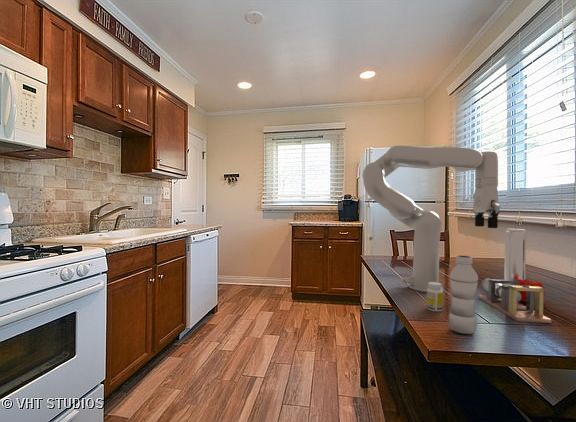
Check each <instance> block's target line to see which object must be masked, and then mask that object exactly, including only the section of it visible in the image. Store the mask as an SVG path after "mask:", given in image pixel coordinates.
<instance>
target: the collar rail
mask: <svg viewBox="0 0 576 422" xmlns="http://www.w3.org/2000/svg"><path fill="white" fill-rule="evenodd" d="M495 283H501V284H503V285H502V298H500V297H498V296H496V295H495ZM504 284H511V285H504ZM517 291H526V302H525V305H524V304H522V303H520V302H518V303H517ZM534 291H535V303H534ZM544 291H545V288H541V287H539V286H525V285H523V286H518V281H516V280H504V279H495V278H494V279H493V278H492V279H491V278H489V289H488V291H487V292H488V293H486V294H485V295H484V294H482V295H481V294H478V299H479V300H482V301H483V302H485V303H486V304H488V305H490V306H492V307H493V308H494V309H497V310H498V311H500V312H501V313H503V314H505V315H507V316H508V317H510V318H511V319H513V320H514V321H517V322H527V323H528V322H529V323H542V324H543V323H546V324H552V319H551V318H549V317H548V316H545V315H544V299H543V294H544Z"/></svg>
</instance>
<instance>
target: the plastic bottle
mask: <svg viewBox="0 0 576 422" xmlns="http://www.w3.org/2000/svg"><path fill="white" fill-rule="evenodd" d="M472 265H473V257H472V256H470V255H462V254H461V255H456V256H455V266H454V267H453V268H452V269H451V271H450V274H449V280H450V289H451V292H450V293H451V301H450V303H451V304H450V308H449V310H450V311H449V315H448V326H449V328H450V329H451V330H452V331H453V332H455V333H458V334H464V335H472V334H474V333H475V332H476V331H477V328H478V321H477V320H478V319H477V316H476V314H477V313H476V294H477V293H476V292H477V288H478V282H479V276H478V274H477V272H476V271H475V269H474V268H473V266H472Z"/></svg>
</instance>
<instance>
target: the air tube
mask: <svg viewBox="0 0 576 422" xmlns="http://www.w3.org/2000/svg"><path fill="white" fill-rule="evenodd" d="M489 279H490V278H489V277H488V278H484V279H483V280H482V281H481V287H482V289H483V290H485V291H487V292H488V289H489ZM502 285H504V284H502V283H495V295H496V296H498V297H500V298H502ZM520 300H521V294H520V293H519V292H518V291H517V303H520V302H521V301H520Z"/></svg>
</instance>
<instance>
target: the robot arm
mask: <svg viewBox="0 0 576 422" xmlns="http://www.w3.org/2000/svg"><path fill="white" fill-rule="evenodd" d="M448 167H449V168H453V169H454V170H455V171H457V172H469V171H474V174H475V175H474V194H473V207H472V210H473V212H474V226H475V227H485V216H484V215H485V213H487V215H488V217H487V228H488V229H497V228H498V225H499V223H498V221H499V219H498V218H499V214H500V209H501V205H500V204H499V193H498V187H499V153H498V152H497V151H495V150H484V151H480V150H478V149H476V148H470V147H457V146H450V147H449V146H444V147H439V146H438V147H437V146H435V147H432V146H431V147H427V146H425V147H424V146H412V145H411V146H410V145H393V146H391V147H390V148H389V149H388V150H387V151H386V152H385V153H384V154H383V155H381V156H380V157H378V159H377V160H375V161H374V162H370V163H367V165H366V166H365V167H364V169H363V171H362V179H363V186H364V189H365V191H366V193H367V195H368V196H369V197H370V198H371V199H372V200H373V201H374V202H375V203H377V204H378V205H380V206H381V207H382V208H384V209H386V210H387V211H388V212H389V215H391V216H392V217H393V218H394V219H396V220H397V221H399V222H401V223H403V225H405V226H407V227H409V228H410V229H411V230H413V231H414V233H413V234H414V235H413V246H412V247H413V252H412V253H413V256H412V257H413V259H412V275H410V276H409V277H402V276H401V277H400V283H405V284H408V288H409V289H411V290H414V291H416V292H417V291H418V292H423V293H427V289H428V288H429V287H428V283H429V282H438V283H440V281H439V280H440V279H439V277H440V275H439V274H440V238H441V231H442V221H441V220H442V219H441V217H440V216H439V214H437V213H436V212H434V211H432V210H429V209H428V210H425V209H422V208H421V207H419V206H418V205H416V203H415V201H414V200H413V199H411V198H410V197H409V196H406V195H405V194H403V193H401V192H400V191H398V190H396V189H395V188H394V187H393V186H390V185H389V184H388V183H387V181H386V179H385V178H386V177H388V176H389V175H391V174H392V173H393V172H395V171H396V170H398V168H410V169H411V168H412V169H413V168H414V169H421V170H422V169H423V170H424V169H425V170H429V169H437V168H448ZM442 290H443V291H444V287H443V286H442Z"/></svg>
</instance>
